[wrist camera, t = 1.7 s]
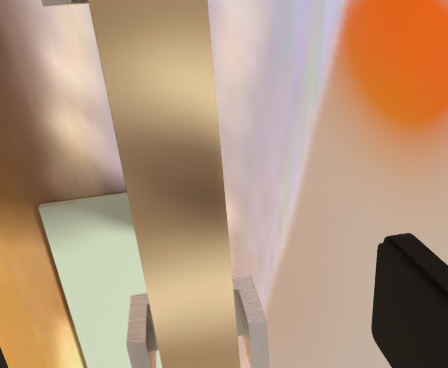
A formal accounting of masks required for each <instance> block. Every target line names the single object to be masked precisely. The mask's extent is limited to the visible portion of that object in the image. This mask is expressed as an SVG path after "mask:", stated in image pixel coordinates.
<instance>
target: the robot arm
mask: <svg viewBox="0 0 448 368" xmlns="http://www.w3.org/2000/svg"><path fill="white" fill-rule="evenodd" d="M372 334H373V338H374V340H375V342H376V344H377V345H378V347H379V348H380V350H381V352H382V353H383V355H384V356H385V358H386V359H387V361H388V362H389V364H390V365H391V367H392V368H448V265H447V264H445V263H444V262H443V261H442V260H441V259H440V258H439V257H438V256H436V255H435V254H434V253H433V252H432V251H431V250H429V248H427V247H426V246H425V245H424V244H423V243H422V242H421V241H420V240H418V239H417V238H416V237H415V236H414V235H412V234H411V233H406V234H399V235H393V236H387V237H385V239H384V242H383V243H380V244H379V245H378V250H377V262H376V275H375V288H374V301H373V314H372ZM0 368H8V366H7V363H6V361H5V358H4V356H3V353H2V351H1V348H0Z"/></svg>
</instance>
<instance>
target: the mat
mask: <svg viewBox="0 0 448 368" xmlns="http://www.w3.org/2000/svg"><path fill="white" fill-rule="evenodd" d="M38 209H39V212H40V215H41V218H42V222H43V225H44V228H45V231H46V235H47V238H48V241H49V244H50V248H51V251H52V254H53V257H54V261H55V264H56V267H57V270H58V274H59V277H60V280H61V283H62V287H63V290H64V293H65V296H66V300H67V303H68V306H69V309H70V313H71V316H72V319H73V322H74V326H75V329H76V332H77V335H78V339H79V342H80V345H81V348H82V352H83V355H84V358H85V361H86V365H87V368H132V367H131V363H130V359H129V355H128V351H127V347H126V343H127V332H128V321H129V309H130V298H131V295H137V294H143V293H147V290H146V285H145V280H144V275H143V270H142V265H141V260H140V255H139V250H138V245H137V240H136V235H135V230H134V225H133V220H132V215H131V210H130V205H129V200H128V195H127V192H125V193H118V194H110V195H103V196H95V197H88V198H81V199H73V200H66V201H58V202H51V203H44V204H40V206H39V208H38ZM156 368H162V364H161V359H160V354H159V350H157V351H156Z"/></svg>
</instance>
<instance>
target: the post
mask: <svg viewBox="0 0 448 368" xmlns="http://www.w3.org/2000/svg"><path fill="white" fill-rule="evenodd" d="M232 281H233V292H234V303H235V314H236V325H237V336H243V340H244V344H245V347H246V351H247V355H248V359H249V363H250V367H251V368H269V357H268V336H267V320H266V317H265V315H264V312H263V309H262V306H261V303H260V300H259V297H258V294H257V291H256V288H255V285H254V282H253V279H252V276H249V277H243V278H237V279H232ZM126 347H127V351H128V355H129V359H130V363H131V367H132V368H156V351H157V350H159V349H158V344H157V339H156V334H155V329H154V324H153V319H152V314H151V309H150V304H149V300H148V295H147V293H143V294H137V295H131V298H130V309H129V321H128V332H127V343H126Z"/></svg>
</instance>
